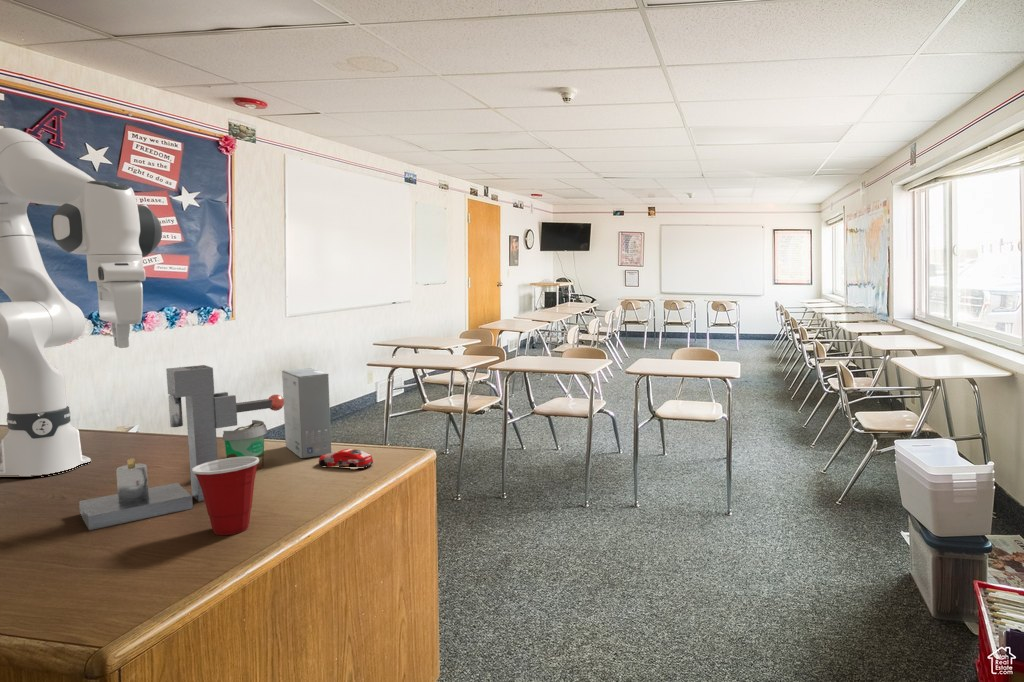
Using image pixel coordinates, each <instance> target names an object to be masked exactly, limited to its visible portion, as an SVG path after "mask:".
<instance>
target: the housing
mask: <svg viewBox="0 0 1024 682" xmlns="http://www.w3.org/2000/svg"><path fill="white" fill-rule="evenodd" d="M135 461H136V460H135V458H128V459H127V464H125V465H122V466H118V467H116V482H117V483H116V485H117V494H118V500H119V502H121V503H132V502H138V501H142V500H145V499H147V498H148V497H149V492H148V488H149V480H148V469H147V468H148V466H147V464H145V463H136V462H135Z"/></svg>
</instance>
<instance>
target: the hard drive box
mask: <svg viewBox="0 0 1024 682" xmlns="http://www.w3.org/2000/svg"><path fill="white" fill-rule="evenodd" d="M281 375H282V376H281V377H282V378H281V379H282V395H283V396H282V398H283V399H284V406H283V416H284V417H283V418H284V434H285V437H284V439H285V447H286V448H287V449H289V451H292V453H294V454H295V455H296V456H297V457H298V458H300V459H306V458H311V457H312V458H313V457H321V456H322V455H325V454H329V453H333V452H332V432H331V431H332V429H331V406H330V403H331V402H330V385H329V383H330V381H329V376H330V375H329V373H327V372H324V371H321V370H318V369H314V368H307V367H306V368H298V369H297V368H296V369H286V370H285V369H284V370H282V371H281Z"/></svg>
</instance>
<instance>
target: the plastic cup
mask: <svg viewBox="0 0 1024 682" xmlns="http://www.w3.org/2000/svg"><path fill="white" fill-rule="evenodd" d="M258 462H259V458H258V457H233V458H227V457H226V458H220V459H218V460H215V461H211V462H207V463H204V464H201V465H198V466H196V467H194V468H192V471H193V473H195V475H196V477H197V479H198V481H199V483H200V486H201V489H202V493H203V496H204V504H205V508H206V511H207V515H208V517H209V520H210V526H211V530H212V531H213V533H214V534H216V535H220V536H229V535H236V534H239V533H242V532H244V531H246V530H247V529H248V528H249V525H250V519H251V514H252V513H251V511H252V506H253V497H254V489H255V479H256V473H257V471H256V467H257V465H258V464H257V463H258Z"/></svg>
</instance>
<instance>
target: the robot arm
mask: <svg viewBox="0 0 1024 682" xmlns="http://www.w3.org/2000/svg"><path fill="white" fill-rule="evenodd" d="M30 203H32V204H33V206H35V207H36V208H41V207H42V206H43V205H46V206H47V205H49V206H57V207H58V208H56V209H55V211H54V212H53V214H52V215H51V221H50V223H51V225H50V226H51V234H52V238H53V240H54V242H55V243H56V245H58V246H59V247H60V248H61V249H62V250H64V252H65V253H70V254H74V255H75V254H76V255H86V267H87V277H88V278H87V279H88V282H96V286H97V287H96V289H97V292H98V293H97V298H98V314H99V318H100V320H101V321H104V322H108V323H110V329H111V333H112V337H113V344H114V347H116V348H119V349H125V348H129V346H130V342H129V341H130V339H129V337H130V330H131V328H130V327H131V326H130V325H138V324H141V322H142V318H143V313H144V312H143V307H144V303H143V302H144V293H143V292H144V289H143V283H142V282H144V281H146V280H147V279H146V269H145V268H144V264H143V263H144V261H143V257H144V258H145V257H148V255H150V254H151V253H152V252H153V251H155V249H156V248H157V247H158V246H159V244H160V243H161V241H162V235H163V230H162V225H161V223H160V222H161V221H160V220H159V219H158V217H157V215H156V214H155V213H154V212H153V211H152V210H151V208H149V207H148V206H146V205H141V204H140V205H139V204H138V200H137V197H136V194H135V191H134V190H133V188H132V187H131V186H130V185H128V184H125V183H122V182H114V181H107V180H99V179H97V178H96V177H94V176H92V175H91V174H88V173H87V172H85V171H83V170H81V169H80V168H78V167H75V166H74V165H73V164H71V163H69V162H68V161H66V160H64V158H61V157H60V156H59V155H57V154H56V153H54V152H53V151H52V150H51V149H50V148H48V147H47V146H46V145H45V144H44V143H42V142H41V141H40V140H38V139H37V138H36V137H34V136H32V135H30V134H28V133H27V132H25V131H23V130H21V129H18V128H13V127H2V128H0V290H2V291H3V293H5V295H7V296H8V298H9V299H10V301H6V302H5V301H3V302H0V371H1V374H2V375H3V380H4V383H5V389H6V391H5V392H6V396H7V407H8V412H7V413H6V423H7V429H8V432H7V434H6V435H4V437H3V438H2V439H1V442H0V455H1V456H0V462H1V463H0V475H19V476H31V475H42V474H50V473H55V472H60V471H64V470H68V469H71V468H74V467H76V466H78V465H80V464H83V463H87V462H90V461H91V462H92V459H91V457H88V456H86V455H83V453H82V445H81V438H80V431H79V429H78V428H76V427H75V426H73V425H72V424H71V411H70V406H68V402H67V390H66V379H65V375H64V373H63V372H62V370H61V369H59V368H58V367H55V366H54V365H52V364H51V362H50V361H49V358H47V355H46V352H45V349H46V348H52V347H53V348H55V347H60V346H62V345H66V344H69V343H70V342H74V341H75V340H77V339H78V338H80V336H82V334H83V333H84V331H85V327H86V317H85V314H84V313H83V311H82V309H81V308H80V307H79V306H78V305H76V304H75V303H73V302H72V301H70V300H69V299H68V298H66V297H65V295H63V294H62V293H61V291H60V290H59V288H58V287H57V285H55V283H54V281H53V280H52V279H51V277H50V276H49V274H48V271H47V270H46V267H45V265H44V262H43V259H42V255H41V252H40V250H39V246H38V243H37V240H36V236H35V233H34V230H33V228H32V225H31V221H30V220H29V217H28V213H27V212H28V211H27V209H28V206H29V205H30Z"/></svg>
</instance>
